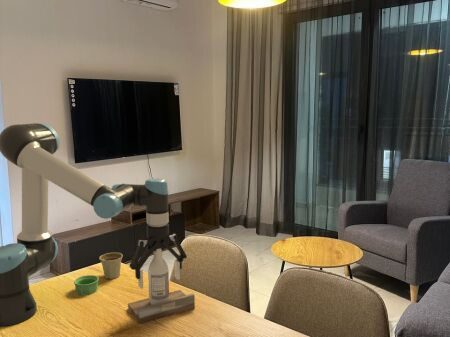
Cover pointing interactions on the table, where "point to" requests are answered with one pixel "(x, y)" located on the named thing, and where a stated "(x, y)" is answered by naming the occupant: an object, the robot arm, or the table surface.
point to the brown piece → (161, 307)
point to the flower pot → (111, 264)
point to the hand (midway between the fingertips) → (159, 282)
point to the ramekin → (86, 284)
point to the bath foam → (158, 279)
